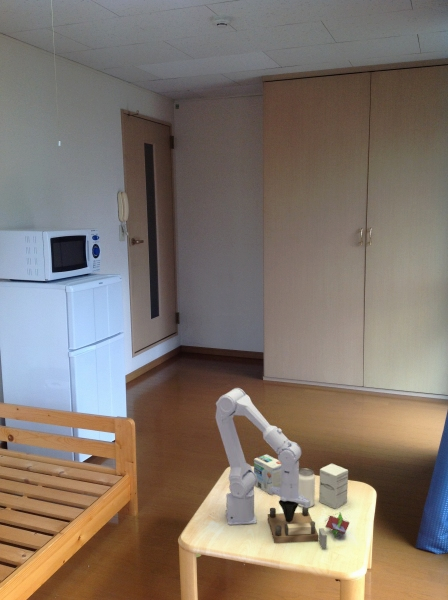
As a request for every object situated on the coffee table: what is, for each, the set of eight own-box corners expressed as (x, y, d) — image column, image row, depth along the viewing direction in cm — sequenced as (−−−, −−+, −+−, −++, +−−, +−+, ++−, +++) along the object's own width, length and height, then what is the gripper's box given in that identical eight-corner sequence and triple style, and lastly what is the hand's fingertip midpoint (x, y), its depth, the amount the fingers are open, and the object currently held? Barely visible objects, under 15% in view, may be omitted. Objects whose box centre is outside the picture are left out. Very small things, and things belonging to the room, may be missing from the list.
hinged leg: (285, 535, 176) (285, 525, 176) (284, 531, 178) (284, 521, 178) (315, 533, 177) (315, 524, 176) (314, 529, 179) (314, 520, 179)
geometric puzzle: (351, 521, 184) (337, 503, 183) (356, 533, 177) (341, 514, 176) (333, 534, 184) (319, 516, 184) (337, 546, 178) (322, 527, 177)
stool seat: (274, 543, 176) (274, 529, 175) (267, 519, 190) (267, 507, 189) (318, 541, 177) (318, 527, 176) (308, 517, 191) (308, 505, 190)
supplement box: (318, 502, 201) (318, 468, 199) (331, 495, 206) (331, 462, 204) (335, 510, 196) (335, 475, 194) (347, 502, 200) (348, 469, 199)
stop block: (321, 549, 172) (322, 535, 172) (318, 542, 176) (319, 528, 176) (326, 549, 172) (326, 535, 172) (323, 541, 176) (323, 528, 176)
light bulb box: (253, 485, 214) (253, 458, 213) (266, 480, 218) (266, 453, 217) (272, 495, 206) (272, 468, 204) (285, 490, 210) (285, 463, 208)
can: (314, 509, 196) (314, 476, 195) (295, 507, 198) (295, 475, 196) (315, 500, 203) (315, 468, 201) (296, 498, 204) (297, 467, 202)
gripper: (264, 478, 182) (263, 518, 184) (301, 492, 173) (301, 533, 175) (276, 471, 188) (276, 509, 190) (314, 484, 178) (313, 524, 180)
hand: (289, 520), depth 183 cm, fingers closed
